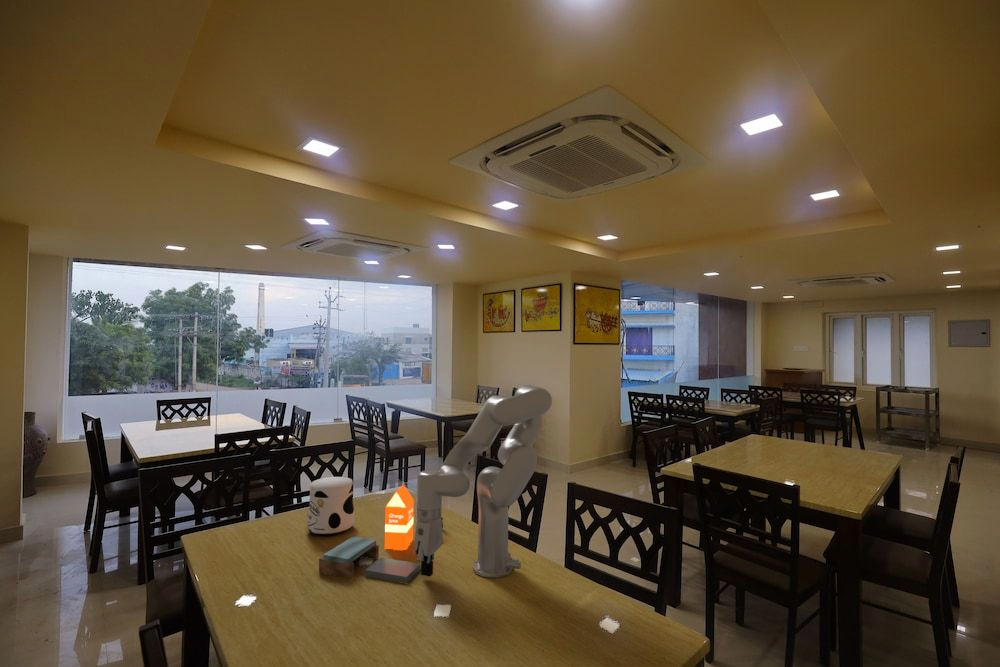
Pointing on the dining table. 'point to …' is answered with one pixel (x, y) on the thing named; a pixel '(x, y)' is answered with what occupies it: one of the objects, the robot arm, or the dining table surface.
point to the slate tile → (393, 570)
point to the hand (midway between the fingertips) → (426, 574)
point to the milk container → (331, 506)
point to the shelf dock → (344, 567)
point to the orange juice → (399, 520)
